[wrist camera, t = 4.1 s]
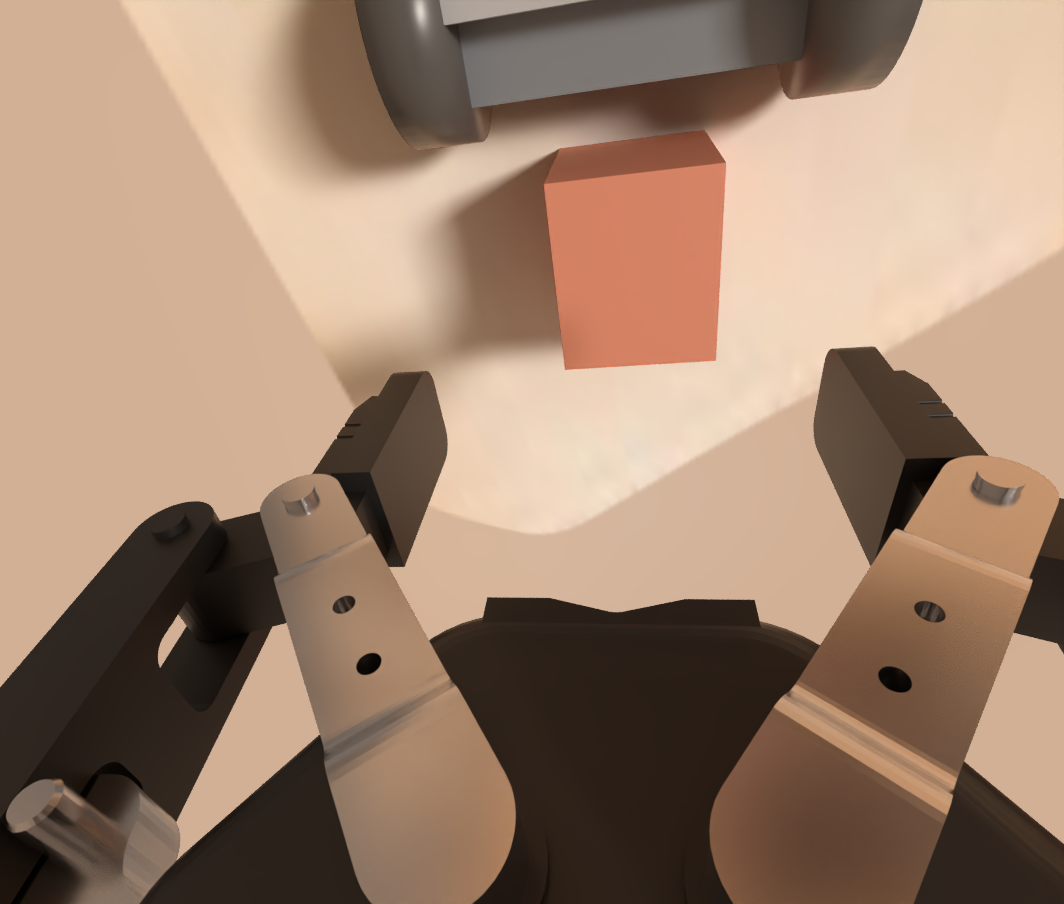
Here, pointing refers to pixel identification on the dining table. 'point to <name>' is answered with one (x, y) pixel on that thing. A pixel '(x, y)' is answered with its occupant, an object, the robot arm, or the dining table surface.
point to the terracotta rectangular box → (637, 249)
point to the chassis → (609, 50)
